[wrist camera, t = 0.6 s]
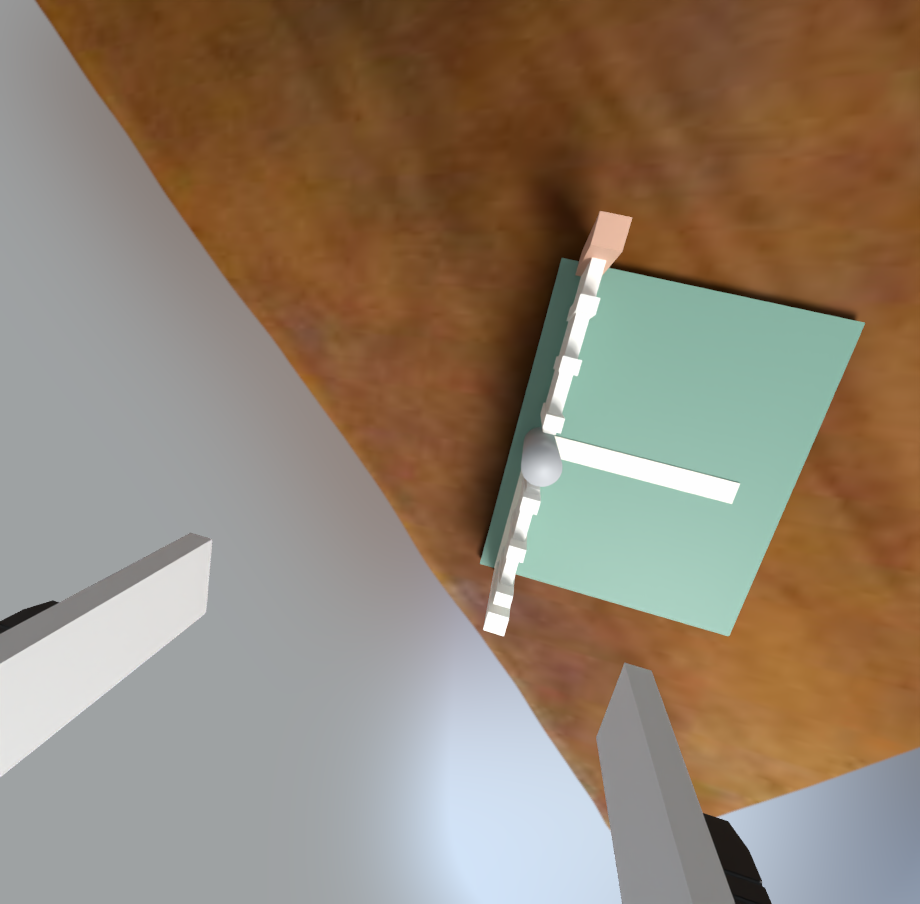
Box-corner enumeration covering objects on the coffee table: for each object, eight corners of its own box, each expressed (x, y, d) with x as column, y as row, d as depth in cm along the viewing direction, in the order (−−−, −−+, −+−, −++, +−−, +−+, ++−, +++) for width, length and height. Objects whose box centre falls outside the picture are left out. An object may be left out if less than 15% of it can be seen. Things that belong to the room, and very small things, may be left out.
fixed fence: (528, 422, 34) (527, 442, 26) (559, 430, 34) (567, 453, 26) (487, 570, 37) (475, 630, 29) (515, 578, 37) (510, 641, 29)
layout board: (561, 259, 32) (561, 257, 31) (858, 323, 30) (866, 322, 29) (480, 560, 37) (479, 564, 37) (725, 631, 35) (729, 637, 35)
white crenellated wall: (581, 250, 30) (599, 210, 22) (605, 255, 30) (632, 217, 22) (535, 417, 33) (536, 437, 25) (556, 423, 33) (564, 444, 25)
